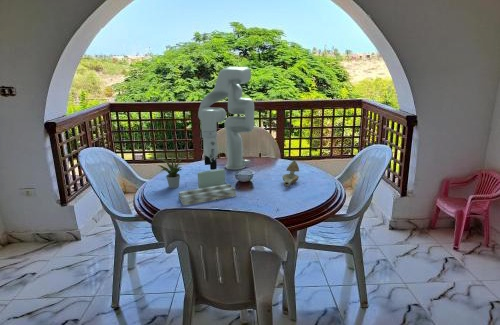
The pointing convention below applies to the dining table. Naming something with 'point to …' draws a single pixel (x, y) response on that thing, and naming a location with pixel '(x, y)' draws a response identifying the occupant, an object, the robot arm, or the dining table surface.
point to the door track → (206, 194)
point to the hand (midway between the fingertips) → (210, 167)
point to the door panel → (211, 178)
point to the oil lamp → (291, 174)
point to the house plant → (172, 173)
